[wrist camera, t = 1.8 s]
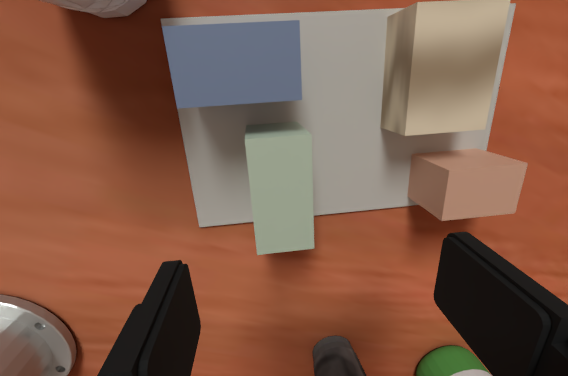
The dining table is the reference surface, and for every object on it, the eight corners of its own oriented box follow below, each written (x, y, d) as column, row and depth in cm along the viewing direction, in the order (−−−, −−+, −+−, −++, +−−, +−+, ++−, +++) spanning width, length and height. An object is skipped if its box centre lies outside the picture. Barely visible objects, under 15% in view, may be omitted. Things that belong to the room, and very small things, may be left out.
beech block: (448, 122, 24) (485, 129, 20) (380, 127, 23) (404, 136, 20) (464, 13, 21) (510, -2, 17) (387, 16, 21) (417, 2, 17)
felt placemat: (474, 198, 27) (476, 198, 27) (199, 226, 25) (199, 227, 25) (513, 4, 21) (515, 3, 21) (161, 19, 19) (160, 18, 19)
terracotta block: (468, 190, 26) (514, 213, 22) (407, 196, 26) (441, 221, 21) (476, 148, 25) (527, 163, 20) (411, 153, 24) (449, 170, 20)
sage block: (300, 212, 25) (314, 248, 20) (255, 216, 25) (257, 254, 19) (296, 121, 22) (311, 134, 17) (246, 125, 22) (244, 139, 17)
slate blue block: (286, 37, 20) (299, 19, 15) (289, 95, 22) (302, 99, 16) (187, 42, 20) (161, 26, 14) (196, 101, 21) (177, 108, 16)
